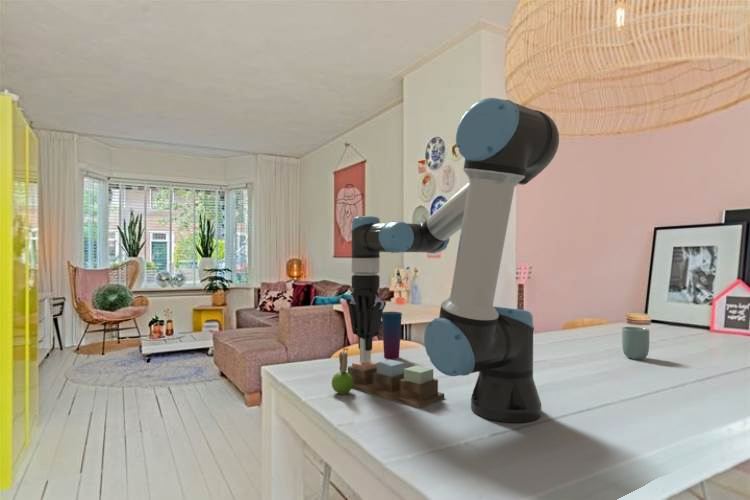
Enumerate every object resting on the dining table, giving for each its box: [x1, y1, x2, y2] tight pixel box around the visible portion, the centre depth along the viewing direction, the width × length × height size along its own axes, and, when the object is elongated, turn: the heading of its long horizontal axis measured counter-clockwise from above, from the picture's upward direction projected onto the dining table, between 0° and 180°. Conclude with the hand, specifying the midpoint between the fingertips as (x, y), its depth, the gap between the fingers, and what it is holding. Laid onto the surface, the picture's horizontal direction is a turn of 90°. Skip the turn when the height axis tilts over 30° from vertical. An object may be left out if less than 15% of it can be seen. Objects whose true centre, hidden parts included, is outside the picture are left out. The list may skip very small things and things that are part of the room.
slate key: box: [377, 359, 405, 377], centre depth 115 cm, size 5×5×3 cm
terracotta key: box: [351, 360, 378, 371], centre depth 121 cm, size 5×5×3 cm
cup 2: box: [621, 326, 650, 361], centre depth 151 cm, size 8×8×10 cm
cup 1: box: [381, 311, 403, 360], centre depth 151 cm, size 7×7×15 cm
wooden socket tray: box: [347, 365, 445, 409], centre depth 115 cm, size 26×10×5 cm, turn 47°
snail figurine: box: [331, 347, 353, 395], centre depth 112 cm, size 5×6×12 cm
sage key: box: [404, 364, 434, 385], centre depth 108 cm, size 5×5×3 cm
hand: (365, 362), depth 121 cm, fingers closed
